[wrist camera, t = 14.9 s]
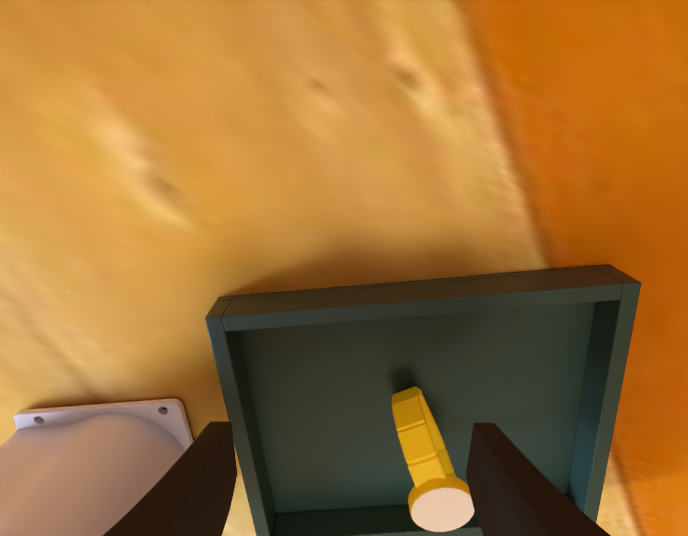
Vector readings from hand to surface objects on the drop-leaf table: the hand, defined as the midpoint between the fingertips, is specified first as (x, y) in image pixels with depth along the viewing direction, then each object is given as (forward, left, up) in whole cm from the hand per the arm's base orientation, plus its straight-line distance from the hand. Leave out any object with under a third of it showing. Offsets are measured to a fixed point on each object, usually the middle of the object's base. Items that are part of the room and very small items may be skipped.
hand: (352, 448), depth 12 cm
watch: (+3, -7, -9) cm, 12 cm away
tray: (+3, -7, -9) cm, 12 cm away
